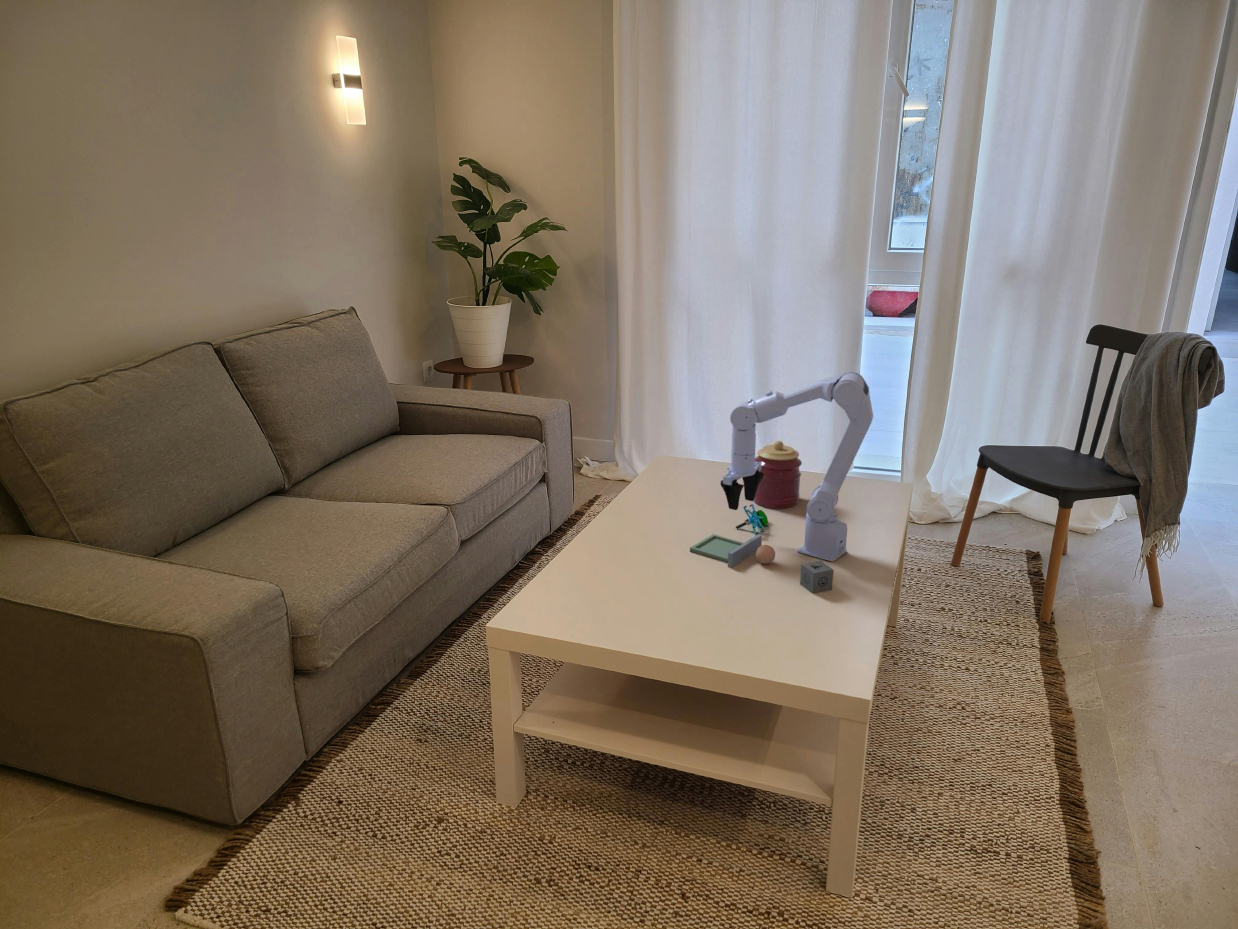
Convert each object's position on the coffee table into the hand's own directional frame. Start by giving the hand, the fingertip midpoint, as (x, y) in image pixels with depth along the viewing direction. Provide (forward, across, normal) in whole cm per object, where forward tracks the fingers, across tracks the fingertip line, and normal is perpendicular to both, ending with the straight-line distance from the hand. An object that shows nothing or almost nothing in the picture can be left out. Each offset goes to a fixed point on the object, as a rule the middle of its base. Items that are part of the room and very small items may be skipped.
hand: (741, 504), depth 212 cm
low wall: (+10, +8, +6) cm, 14 cm away
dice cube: (+10, +12, +27) cm, 31 cm away
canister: (+10, -30, -7) cm, 32 cm away
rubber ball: (+8, +8, +12) cm, 16 cm away
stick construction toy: (+10, -9, -2) cm, 14 cm away
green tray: (+10, +8, -1) cm, 12 cm away
